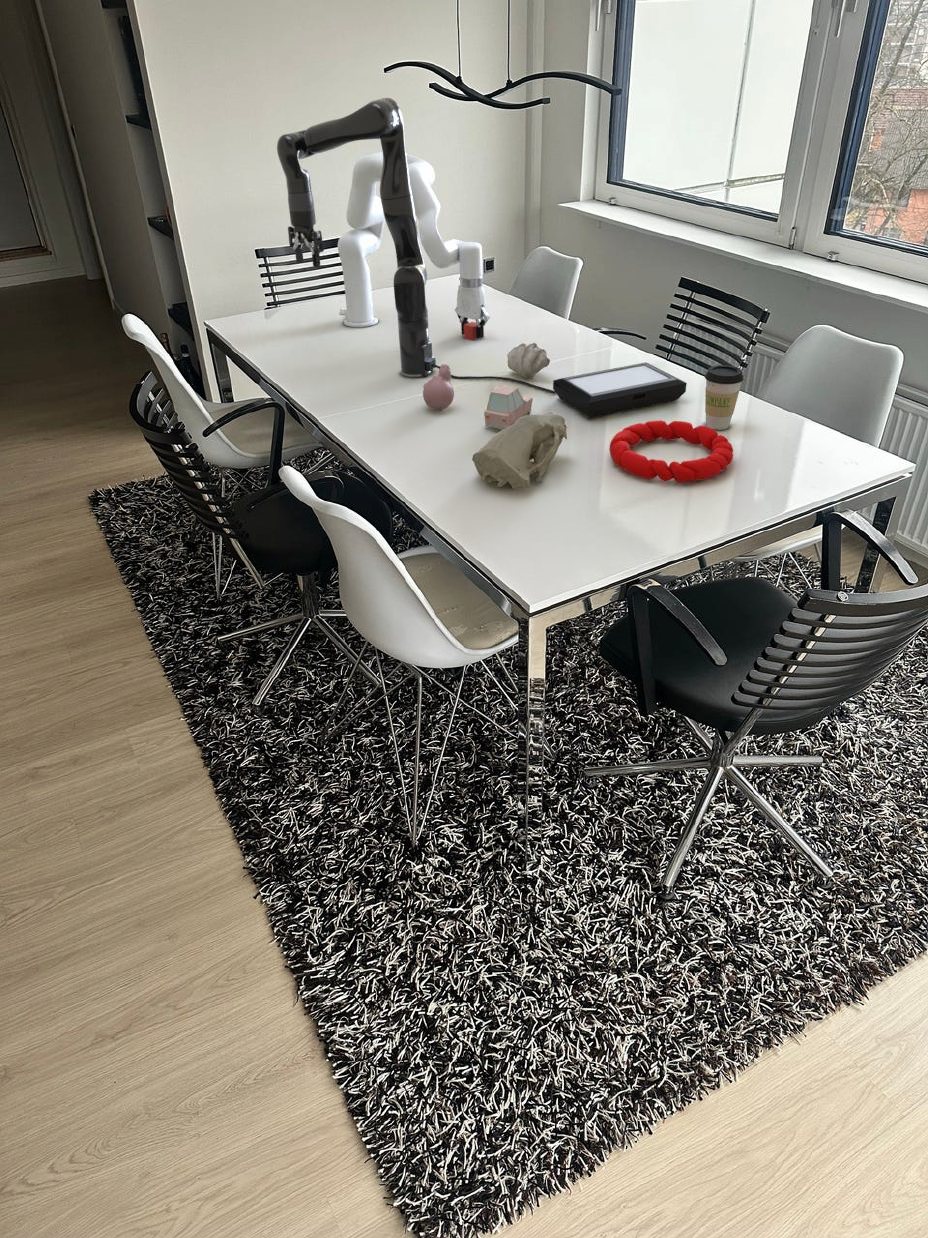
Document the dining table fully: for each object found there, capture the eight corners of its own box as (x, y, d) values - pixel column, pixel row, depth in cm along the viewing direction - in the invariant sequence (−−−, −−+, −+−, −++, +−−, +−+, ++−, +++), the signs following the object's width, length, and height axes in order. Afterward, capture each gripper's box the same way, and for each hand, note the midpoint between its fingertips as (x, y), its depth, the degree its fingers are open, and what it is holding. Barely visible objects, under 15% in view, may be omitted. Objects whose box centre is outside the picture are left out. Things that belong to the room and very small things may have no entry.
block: (472, 334, 312) (472, 321, 309) (480, 337, 309) (480, 323, 307) (464, 337, 309) (463, 324, 307) (472, 340, 307) (472, 326, 304)
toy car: (536, 415, 249) (537, 380, 243) (510, 434, 238) (510, 398, 232) (507, 409, 253) (507, 375, 247) (480, 428, 242) (479, 393, 236)
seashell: (522, 385, 268) (523, 352, 263) (503, 370, 280) (503, 338, 274) (553, 380, 271) (554, 348, 266) (533, 365, 283) (533, 334, 277)
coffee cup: (691, 421, 242) (698, 367, 233) (722, 415, 245) (730, 362, 236) (712, 434, 234) (719, 379, 226) (743, 428, 237) (752, 373, 228)
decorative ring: (590, 427, 228) (644, 464, 203) (694, 411, 235) (759, 444, 210) (589, 454, 232) (643, 493, 207) (692, 437, 239) (756, 473, 214)
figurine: (441, 398, 262) (440, 358, 255) (460, 410, 254) (458, 368, 247) (414, 404, 258) (412, 363, 251) (432, 416, 250) (430, 374, 243)
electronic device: (589, 399, 240) (553, 377, 255) (587, 421, 244) (552, 398, 259) (687, 380, 251) (647, 359, 266) (684, 401, 254) (645, 380, 269)
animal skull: (489, 499, 227) (452, 459, 211) (541, 418, 229) (509, 372, 213) (540, 522, 217) (505, 481, 201) (594, 437, 219) (564, 390, 203)
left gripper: (445, 280, 302) (447, 333, 312) (482, 288, 292) (483, 343, 302) (461, 275, 306) (462, 328, 316) (497, 283, 296) (498, 338, 306)
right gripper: (277, 207, 270) (285, 263, 279) (305, 212, 261) (312, 270, 271) (297, 203, 274) (304, 258, 283) (326, 208, 266) (332, 265, 275)
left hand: (472, 335), depth 309 cm, fingers open, 6 cm apart
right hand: (308, 264), depth 277 cm, fingers open, 8 cm apart
